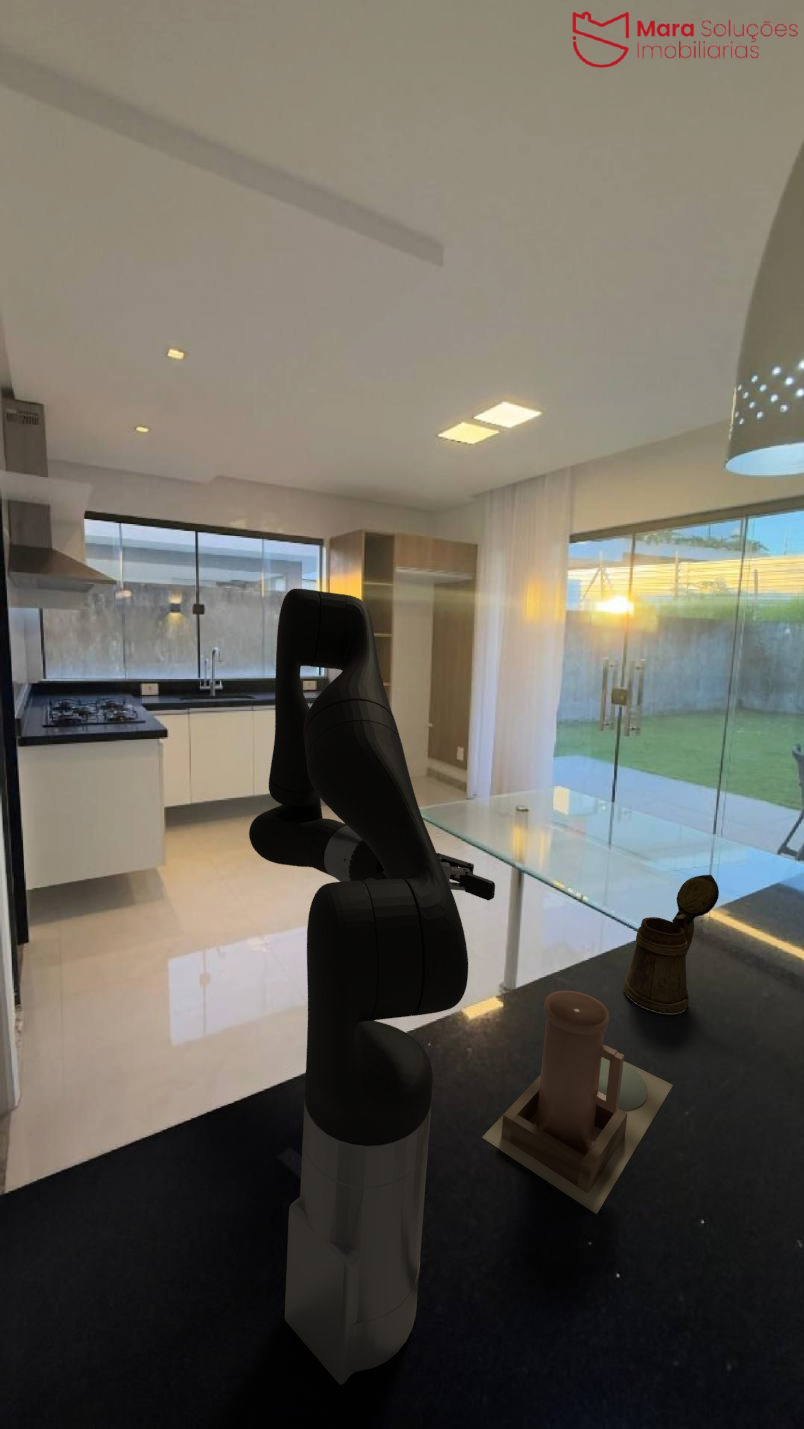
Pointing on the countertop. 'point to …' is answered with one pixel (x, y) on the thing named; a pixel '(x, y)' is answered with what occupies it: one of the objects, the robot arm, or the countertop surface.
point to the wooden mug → (668, 950)
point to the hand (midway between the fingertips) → (472, 902)
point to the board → (611, 1136)
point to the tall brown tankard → (575, 1068)
